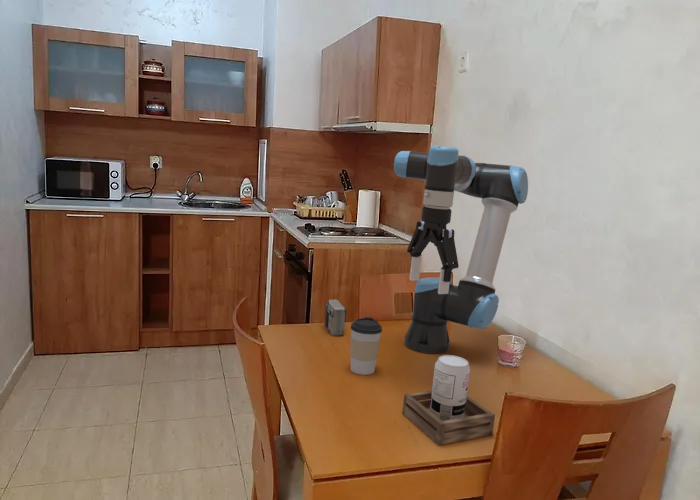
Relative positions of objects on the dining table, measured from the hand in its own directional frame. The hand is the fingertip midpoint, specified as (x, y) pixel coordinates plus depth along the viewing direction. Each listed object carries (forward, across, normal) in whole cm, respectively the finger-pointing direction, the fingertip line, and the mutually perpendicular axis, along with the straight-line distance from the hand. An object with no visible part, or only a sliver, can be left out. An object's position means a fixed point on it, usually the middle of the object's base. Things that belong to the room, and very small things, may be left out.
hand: (428, 286), depth 148 cm
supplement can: (+28, +19, -4) cm, 34 cm away
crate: (+29, +20, -4) cm, 35 cm away
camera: (+29, -48, -3) cm, 56 cm away
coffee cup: (+29, -15, -9) cm, 34 cm away
